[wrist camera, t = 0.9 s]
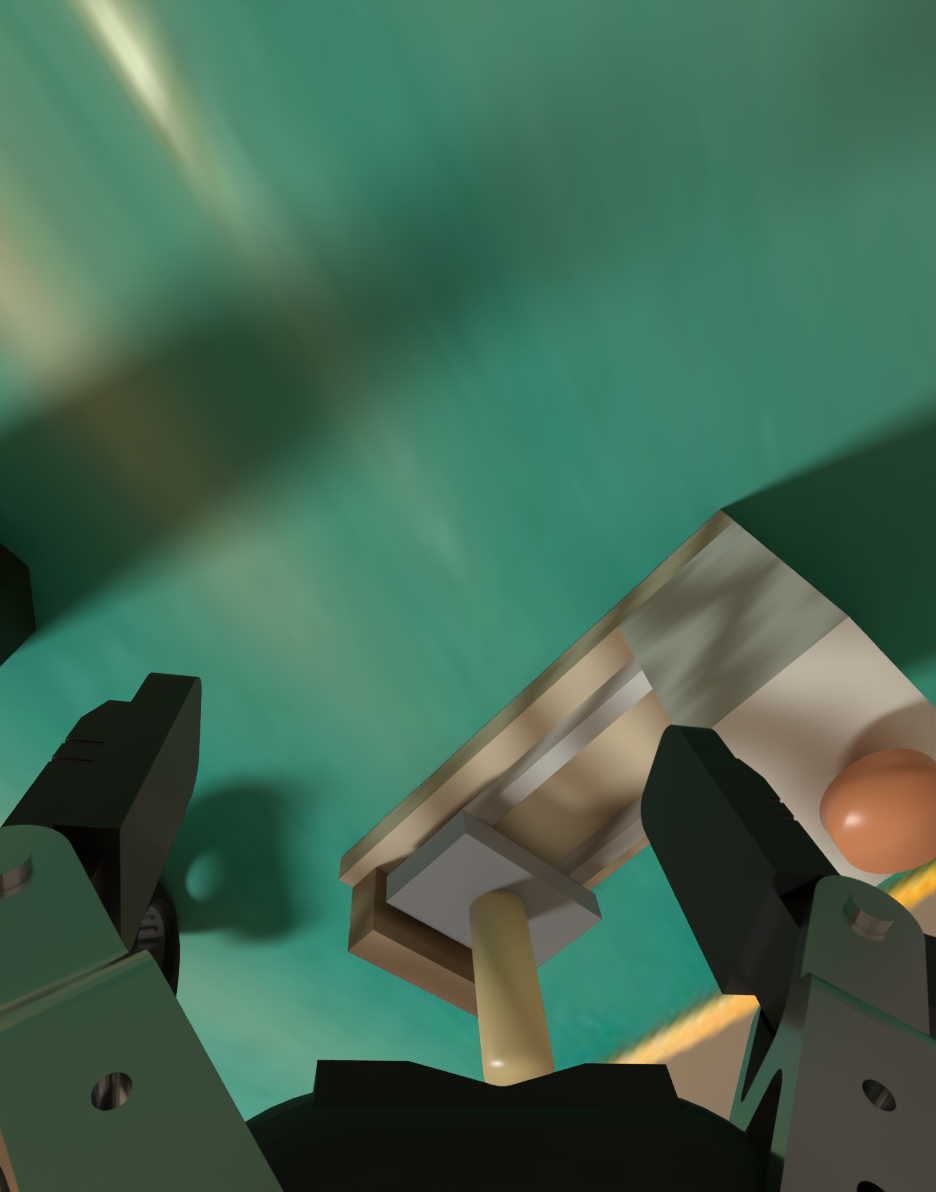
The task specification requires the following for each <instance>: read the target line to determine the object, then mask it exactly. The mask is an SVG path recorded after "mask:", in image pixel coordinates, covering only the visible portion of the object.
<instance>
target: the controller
mask: <svg viewBox="0 0 936 1192" xmlns="http://www.w3.org/2000/svg"><path fill="white" fill-rule="evenodd" d="M140 947H143V948H145V949H146V950H147V951H148V952H149V953H150V954H151V955H152V956H153V958H154V959H155V961H156V963H157V964H158V966H159V968H160V970H161V971H162V973H163V975H164V977H165V979H166V980H167V982H168V984H169V986H170V988H171V990H172V991H173V993H174V995H175V997H176V994H177V987H178V977H179V964H180V942H179V929H178V923H177V917H176V912H175V909H174V906H173V903H172V900H171V899H170V897H169V896H168V894H167V893H166V891H165V890H164V889H163V888H162V887H161V886H160V885H159V884H158V883H157V885H156V887H155V890H154V893H153V895H152V898H151V900H150V903H149V905H148V908H147V910H146V913H145V915H144V918H143V920H142V923H141V925H140V928H139V931H138V933H137V936H136V938H135V941H134V943H133V946H132V948H131V951H133V950H135V949H137V948H140ZM131 951H130V952H131Z"/></svg>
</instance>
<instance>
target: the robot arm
mask: <svg viewBox="0 0 936 1192" xmlns="http://www.w3.org/2000/svg"><path fill="white" fill-rule="evenodd" d="M201 693H202V687H201V679H200V678H199V677H193V676H183V675H173V674H163V673H153V672H152V673H150V674H149V675H148V676H147V677H146V679H145V681H144V682H143V684H142V685H141V687H140V688H139V690H138V692H137V693H136V695H135V696H134V698H133V699H132V701H131V702H125V701H114V700H108V701H107V702H105V703H104V704H102V705H100V706H99V707H97V708H96V709H94V710H92V711H91V712H89V713H87V714H86V715H84V716H83V717H81V718H80V720H79V721H78V722H77V724H76V725H75V727H74V728H73V729H72V731H71V732H70V733H69V735H68V736H67V738H66V740H65V743H62V744H61V746H60V747H59V748H58V750H57V751H56V753H55V754H54V755H53V757H52V761H51V762H48V763H47V765H46V766H45V768H44V769H43V770H42V772H41V773H40V774H39V776H38V777H37V778H36V780H35V781H34V783H33V784H32V785H31V787H30V788H29V789H28V791H27V792H26V793H25V795H24V796H23V798H22V799H21V800H20V802H19V803H18V804H17V806H16V807H15V809H14V810H13V811H12V813H11V814H10V815H9V817H8V818H7V819H6V821H5V822H4V824H3V825H2V826H1V827H0V1192H936V937H933V936H930V935H927V934H924V933H923V931H922V929H921V927H920V925H919V924H918V922H917V921H916V919H915V918H914V917H913V916H912V915H911V913H910V912H909V911H908V910H907V909H906V908H905V907H904V906H902V905H901V904H900V903H899V902H898V901H897V900H895V899H894V898H892V897H891V896H890V895H888V894H887V893H885V892H883V891H882V890H880V889H878V888H876V887H874V886H872V885H871V884H868V883H866V882H863V881H861V880H858V879H855V878H851V877H846V876H841V875H840V874H839V873H838V871H837V870H836V869H835V868H834V866H833V865H832V864H831V862H830V861H829V860H828V859H827V857H826V856H825V855H824V853H823V852H822V851H821V850H820V848H819V847H818V846H817V845H816V843H815V842H814V841H813V839H812V838H811V837H810V836H809V834H808V833H807V832H806V831H805V829H804V828H803V827H802V825H801V824H800V823H799V822H798V820H794V815H793V814H792V813H791V811H790V810H789V809H788V808H787V806H786V805H785V804H784V803H781V802H780V797H779V796H778V795H777V793H776V792H775V791H774V790H773V788H772V787H771V786H770V785H769V783H768V782H767V781H766V779H765V778H764V777H763V776H761V775H760V774H759V773H757V772H756V771H755V770H753V769H752V768H751V767H750V766H748V765H747V764H746V763H744V762H743V761H742V760H740V759H739V758H736V757H735V756H734V755H733V754H732V752H731V751H730V750H729V748H728V747H727V746H726V744H725V743H724V742H723V740H722V739H721V738H720V736H719V735H718V734H717V732H716V731H715V730H713V729H711V728H703V727H693V726H682V725H669V726H668V727H667V728H666V729H665V730H664V732H663V734H662V736H661V739H660V742H659V745H658V748H657V751H656V754H655V757H654V761H653V764H652V767H651V770H650V773H649V776H648V779H647V782H646V785H645V788H644V791H643V794H642V799H641V821H642V825H643V829H644V831H645V834H646V836H647V838H648V840H649V842H650V844H651V846H652V848H653V850H654V852H655V854H656V856H657V859H658V861H659V863H660V865H661V867H662V869H663V871H664V873H665V875H666V877H667V879H668V881H669V884H670V886H671V888H672V890H673V892H674V894H675V896H676V898H677V900H678V902H679V904H680V906H681V909H682V911H683V913H684V915H685V917H686V919H687V921H688V923H689V925H690V927H691V929H692V931H693V934H694V936H695V938H696V940H697V942H698V944H699V946H700V948H701V950H702V952H703V954H704V956H705V959H706V961H707V963H708V965H709V967H710V969H711V971H712V973H713V975H714V977H715V979H716V981H717V984H718V986H719V988H720V990H721V992H722V994H730V995H755V996H756V998H757V1000H758V1002H759V1004H760V1006H759V1008H758V1010H757V1012H756V1014H755V1016H754V1019H753V1021H752V1025H751V1029H750V1034H749V1038H748V1042H747V1046H746V1050H745V1054H744V1059H743V1063H742V1067H741V1071H740V1076H739V1080H738V1084H737V1088H736V1093H735V1097H734V1102H733V1105H732V1110H731V1114H730V1118H729V1121H728V1120H726V1119H724V1118H722V1117H720V1116H719V1115H717V1114H715V1113H713V1112H711V1111H709V1110H708V1109H705V1108H704V1107H701V1106H699V1105H696V1104H694V1103H691V1102H689V1101H687V1100H684V1099H681V1098H678V1097H677V1094H676V1091H675V1089H674V1086H673V1083H672V1080H671V1077H670V1075H669V1072H668V1069H667V1066H666V1064H597V1063H585V1064H582V1065H578V1066H575V1067H571V1068H568V1069H564V1070H561V1071H557V1072H554V1073H551V1074H547V1075H544V1076H540V1077H537V1078H533V1079H530V1080H526V1081H523V1082H520V1083H516V1084H513V1085H508V1086H497V1085H492V1084H489V1083H485V1082H481V1081H478V1080H474V1079H471V1078H467V1077H464V1076H460V1075H456V1074H453V1073H449V1072H446V1071H442V1070H439V1069H435V1068H431V1067H428V1066H424V1065H421V1064H417V1063H414V1062H410V1061H361V1060H317V1067H316V1075H315V1082H314V1089H313V1092H312V1093H309V1094H306V1095H302V1096H299V1097H296V1098H293V1099H290V1100H288V1101H285V1102H283V1103H281V1104H278V1105H276V1106H273V1107H271V1108H269V1109H267V1110H265V1111H263V1112H262V1113H260V1114H258V1115H256V1116H255V1117H253V1118H251V1119H249V1120H247V1121H246V1122H245V1121H244V1119H243V1118H242V1116H241V1114H240V1112H239V1110H238V1109H237V1107H236V1105H235V1103H234V1101H233V1100H232V1098H231V1096H230V1094H229V1092H228V1091H227V1089H226V1087H225V1085H224V1083H223V1082H222V1080H221V1078H220V1076H219V1074H218V1073H217V1071H216V1069H215V1067H214V1065H213V1063H212V1062H211V1060H210V1058H209V1056H208V1054H207V1053H206V1051H205V1049H204V1047H203V1045H202V1044H201V1042H200V1040H199V1038H198V1036H197V1035H196V1033H195V1031H194V1029H193V1027H192V1026H191V1024H190V1022H189V1020H188V1018H187V1017H186V1015H185V1013H184V1011H183V1009H182V1008H181V1006H180V1004H179V1002H178V1000H177V999H176V997H175V995H174V993H173V991H172V990H171V988H170V986H169V984H168V982H167V980H166V979H165V977H164V975H163V973H162V971H161V970H160V968H159V966H158V964H157V963H156V961H155V959H154V958H153V956H152V955H151V954H150V953H149V952H148V951H147V950H146V949H145V948H143V947H140V948H137V949H135V950H133V951H131V948H132V946H133V943H134V941H135V938H136V936H137V933H138V931H139V928H140V925H141V923H142V920H143V918H144V915H145V913H146V910H147V908H148V905H149V903H150V900H151V898H152V895H153V893H154V890H155V887H156V885H157V882H158V880H159V877H160V875H161V872H162V870H163V867H164V865H165V862H166V860H167V857H168V855H169V852H170V850H171V847H172V844H173V842H174V839H175V837H176V834H177V832H178V829H179V827H180V824H181V822H182V819H183V817H184V814H185V812H186V809H187V806H188V804H189V801H190V799H191V796H192V793H193V790H194V786H195V781H196V776H197V770H198V762H199V744H200V718H201ZM130 951H131V952H130Z"/></svg>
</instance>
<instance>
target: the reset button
mask: <svg viewBox="0 0 936 1192" xmlns="http://www.w3.org/2000/svg"><path fill="white" fill-rule="evenodd" d="M819 816H820V821H821V823H822V826H823V827H824V829H825V830H826V832H827V833H828V834H829V836H830V837H831V839H832V840H833V841H834V843H835V844H836V846H837V847H838V848H839V850H840V851H841V853H842V854H843V855H844V857H845V858H846V859H847V861H848V862H849V863H850V864H851V865H853V866H854V867H856V868H857V869H860V870H862V871H865V872H868V873H874V874H892V873H899V872H903V871H907V870H910V869H913V868H916V867H918V866H921V865H923V864H925V863H927V862H929V861H931V860H933V859H934V858H936V761H934V760H933V759H932V758H931V757H930V756H928V755H927V754H925V753H923V752H920V751H917V750H912V749H903V748H902V749H889V750H884V751H880V752H876V753H873V754H870V755H868V756H866V757H863V758H861V759H860V760H858V761H856V762H854V763H853V764H851V765H850V766H848V767H847V768H845V769H844V770H843V771H842V772H841V773H839V774H838V775H837V776H836V777H835V778H834V780H833V781H832V782H831V783H830V784H829V786H828V788H827V789H826V791H825V793H824V795H823V797H822V800H821V803H820V808H819Z"/></svg>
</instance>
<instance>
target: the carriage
mask: <svg viewBox="0 0 936 1192" xmlns="http://www.w3.org/2000/svg"><path fill="white" fill-rule="evenodd" d="M386 902H387V903H389V904H391V905H392V906H394V907H396V908H398V909H400V910H401V911H403V912H405V913H407V914H409V915H411V916H412V917H414V918H416V919H418V920H420V921H421V922H423V923H425V924H427V925H429V926H430V927H432V928H434V929H436V930H438V931H440V932H441V933H443V934H445V935H447V936H449V937H450V938H452V939H454V940H456V941H458V942H459V943H461V944H463V945H465V946H467V947H469V948H470V949H472V956H473V967H474V977H475V988H476V998H477V1009H478V1019H479V1030H480V1041H481V1051H482V1062H483V1072H484V1079H485V1081H486V1082H487V1083H489V1084H492V1085H497V1086H508V1085H513V1084H516V1083H520V1082H523V1081H526V1080H530V1079H533V1078H537V1077H540V1076H544V1075H547V1074H551V1073H553V1072H554V1061H553V1055H552V1050H551V1045H550V1039H549V1034H548V1028H547V1023H546V1017H545V1012H544V1006H543V1001H542V995H541V990H540V984H539V979H538V973H537V968H538V967H539V966H541V965H542V964H543V963H545V962H546V961H547V960H549V959H550V958H551V957H553V956H554V955H555V954H557V953H558V952H559V951H561V950H562V949H563V948H565V947H566V946H567V945H569V944H570V943H571V942H573V941H574V940H575V939H577V938H578V937H579V936H581V935H582V934H583V933H585V932H586V931H587V930H588V929H590V928H591V927H592V926H594V925H595V924H596V923H598V922H599V921H600V920H602V916H601V913H600V909H599V906H598V903H597V899H596V896H595V894H594V893H592V892H591V891H589V890H587V889H586V888H584V887H583V886H581V885H580V884H578V883H577V882H575V881H573V880H572V879H570V878H569V877H567V876H566V875H564V874H563V873H561V872H560V871H558V870H556V869H555V868H553V867H552V866H550V865H549V864H547V863H546V862H544V861H542V860H541V859H539V858H538V857H536V856H535V855H533V854H532V853H530V852H529V851H527V850H525V849H524V848H522V847H521V846H519V845H518V844H516V843H515V842H513V841H511V840H510V839H508V838H507V837H505V836H504V835H502V834H501V833H499V832H498V831H496V830H494V829H493V828H491V827H490V826H488V825H487V824H485V823H484V822H482V821H480V820H479V819H477V818H476V817H474V816H473V815H471V814H470V813H468V812H467V811H465V810H462V811H461V812H460V813H459V814H458V815H457V816H455V817H454V818H453V819H452V820H451V821H450V822H449V823H447V824H446V825H445V826H444V827H443V828H442V829H441V830H440V831H438V832H437V833H436V834H435V835H434V836H433V837H432V838H430V839H429V840H428V841H427V842H426V843H425V844H424V845H423V846H421V847H420V848H419V849H418V850H417V851H416V852H415V853H413V854H412V855H411V856H410V857H409V858H408V859H407V860H406V861H404V862H403V863H402V864H401V865H400V866H399V867H398V868H396V869H395V870H394V871H393V872H392V873H391V874H390V875H388V876H387V892H386Z"/></svg>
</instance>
